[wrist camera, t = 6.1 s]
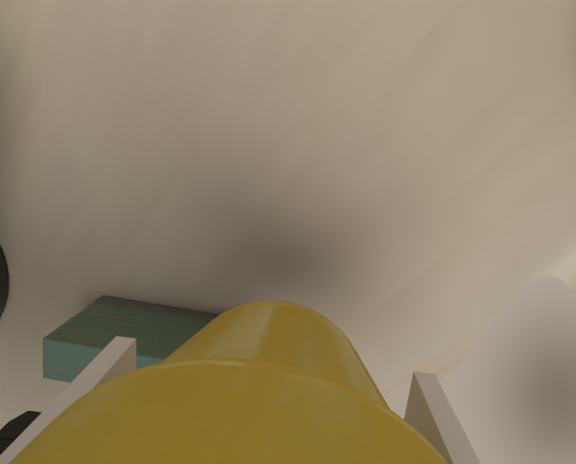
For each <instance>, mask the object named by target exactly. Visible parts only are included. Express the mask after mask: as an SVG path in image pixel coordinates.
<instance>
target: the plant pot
mask: <svg viewBox="0 0 576 464" xmlns="http://www.w3.org/2000/svg"><path fill="white" fill-rule="evenodd" d="M9 464H448V463H447V462H446V460H445V459H444V458H443V457H442V455H441V454H440V453H439V452H438V451H437V450H436V449H435V448H434V446H433V445H432V444H431V443H430V442H429V441H428V440H427V439H426V438H424V437H423V436H422V435H421V434H420V433H419V432H418V431H417V430H416V429H415V428H414V427H412V426H411V425H410V424H409V423H408V422H406V421H405V420H404V419H403V418H401V417H400V416H398V415H397V414H396V413H394V412H393V411H391V410H390V408H389V407H388V405H387V403H386V402H385V400H384V398H383V397H382V395H381V393H380V392H379V390H378V388H377V386H376V385H375V383H374V381H373V380H372V378H371V376H370V375H369V373H368V371H367V369H366V368H365V366H364V364H363V362H362V361H361V359H360V357H359V355H358V354H357V352H356V350H355V349H354V347H353V346H352V344H351V342H350V341H349V339H348V338H347V337H346V336H345V334H344V333H343V332H342V331H341V330H340V329H339V328H338V327H337V326H336V325H335V324H334V323H332V322H331V321H330V320H328V319H327V318H326V317H324V316H323V315H321V314H319V313H317V312H315V311H314V310H311V309H309V308H307V307H304V306H301V305H297V304H294V303H289V302H283V301H255V302H250V303H246V304H243V305H240V306H237V307H234V308H232V309H229V310H227V311H225V312H224V313H222V314H220V315H219V316H218V317H216V318H215V319H214V320H212V321H211V322H210V323H209V324H207V325H206V326H205V327H204V328H203V329H201V330H200V331H199V332H198V333H196V334H195V335H194V336H193V337H192V338H190V339H189V340H188V341H187V342H186V343H184V344H183V345H182V346H181V347H179V348H178V349H177V350H176V351H174V352H173V353H172V354H171V355H169V356H168V357H167V358H166V359H164V360H163V361H162V362H161V363H158V364H153V365H149V366H145V367H142V368H139V369H136V370H133V371H130V372H127V373H125V374H122V375H120V376H118V377H115V378H113V379H111V380H109V381H107V382H105V383H103V384H102V385H100V386H98V387H96V388H94V389H92V390H91V391H89V392H88V393H86V394H85V395H83V396H82V397H80V398H79V399H78V400H76V401H75V402H74V403H72V404H71V405H70V406H68V407H67V408H66V409H65V410H64V411H63V412H62V413H60V414H59V415H58V416H57V417H56V418H55V419H54V420H53V421H52V422H51V423H50V424H49V425H47V426H46V427H45V428H44V429H43V430H42V431H41V432H40V433H39V434H38V435H37V436H36V437H35V438H34V439H33V440H32V441H31V442H30V443H29V444H28V445H27V446H26V447H25V448H24V449H23V450H22V451H21V452H20V453H19V454H18V455H17V456H16V457H15V458H14V459H13V460H12V461H11V462H10V463H9Z"/></svg>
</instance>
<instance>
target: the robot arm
mask: <svg viewBox="0 0 576 464" xmlns="http://www.w3.org/2000/svg"><path fill="white" fill-rule="evenodd" d="M7 288H8V280H7V271H6V266H5V261H4V258H3V255H2V252H1V250H0V314H1V312H2V310H3V308H4V305H5V301H6V296H7ZM133 370H136V338H129V337H120V336H116V337H115V338H114V339H113V340H112V341H111V342H110V343H109V344H108V345H107V346H106V347H105V348H104V349H103V350H102V351H101V352H100V353H99V354H98V355H97V357H96V358H95V359H94V360H93V361H92V362H91V363H90V364H89V365H88V366H87V367H86V368H85V369H84V370H83V371H82V372H81V373H80V374H79V375H78V376H77V377H76V378H75V379H74V380H73V381H72V382H71V383H70V384H69V385H68V386H67V387H66V388H65V389H64V390H63V391H62V392H61V393H60V394H59V396H58V397H57V398H56V399H55V400H54V401H53V402H52V403H51V404H50V405H49V406H48V407H47V408H46V409H45V410H44V411H43V412H35V411H27V412H25V413H23V414H22V415H20V416H18V417H17V418H15V419H13V420H11V421H10V422H8V423H7V424H6V425H5V426H4V427H3V428H2V429H1V430H0V464H9V463H10V462H11V461H12V460H13V459H14V458H15V457H16V456H17V455H18V454H19V453H20V452H21V451H22V450H23V449H24V448H25V447H26V446H27V445H28V444H29V443H30V442H31V441H32V440H33V439H34V438H35V437H36V436H37V435H38V434H39V433H40V432H41V431H42V430H43V429H44V428H45V427H46V426H47V425H49V424H50V423H51V422H52V421H53V420H54V419H55V418H56V417H57V416H58V415H59V414H60V413H62V412H63V411H64V410H65V409H66V408H67V407H68V406H70V405H71V404H72V403H74V402H75V401H76V400H78V399H79V398H80V397H82V396H83V395H85V394H86V393H88V392H89V391H91V390H92V389H94V388H96V387H98V386H100V385H102V384H103V383H105V382H107V381H109V380H111V379H113V378H115V377H118V376H120V375H122V374H125V373H127V372H130V371H133ZM404 420H405V421H406V422H408V423H409V424H410V425H411V426H412V427H414V428H415V429H416V430H417V431H418V432H419V433H420V434H421V435H422V436H423V437H424V438H426V439H427V440H428V441H429V442H430V443H431V444H432V445H433V446H434V448H435V449H436V450H437V451H438V452H439V453H440V454H441V455H442V457H443V458H444V459H445V460H446V462H447V463H448V464H480V461H479V459H478V458H477V456H476V454H475V452H474V450H473V448H472V446H471V444H470V442H469V440H468V438H467V436H466V434H465V432H464V430H463V428H462V426H461V424H460V422H459V420H458V419H457V417H456V415H455V413H454V411H453V409H452V407H451V405H450V403H449V401H448V399H447V397H446V395H445V393H444V391H443V389H442V387H441V385H440V383H439V382H438V380H437V378H436V376H435V374H431V373H422V372H413V377H412V382H411V387H410V392H409V397H408V402H407V407H406V412H405V418H404Z"/></svg>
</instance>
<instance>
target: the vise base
mask: <svg viewBox="0 0 576 464" xmlns="http://www.w3.org/2000/svg"><path fill="white" fill-rule="evenodd" d="M218 316H219V315H218V314H212V313H206V312H200V311H194V310H188V309H182V308H176V307H170V306H164V305H157V304H151V303H145V302H139V301H133V300H127V299H121V298H115V297H109V296H102V297H100V298H99V299H97V300H96V301H95V302H93V303H92V304H90V305H89V306H88V307H86V308H85V309H84V310H82V311H81V312H79V313H78V314H77V315H75V316H74V317H72V318H71V319H70V320H68V321H67V322H65V323H64V324H63V325H61V326H60V327H59V328H57V329H56V330H54V331H53V332H52V333H50V334H49V335H47V336H46V337H45V338H43V378H49V379H54V380H60V381H66V382H72V381H73V380H74V379H75V378H76V377H77V376H78V375H79V374H80V373H81V372H82V371H83V370H84V369H85V368H86V367H87V366H88V365H89V364H90V363H91V362H92V361H93V360H94V359H95V358H96V357H97V355H98V354H99V353H100V352H101V351H102V350H103V349H104V348H105V347H106V346H107V345H108V344H109V343H110V342H111V341H112V340H113V339H114V338H115V337H116V336H120V337H129V338H136V369H139V368H142V367H145V366H149V365H153V364H158V363H161V362H162V361H163V360H164V359H166V358H167V357H168V356H169V355H171V354H172V353H173V352H174V351H176V350H177V349H178V348H179V347H181V346H182V345H183V344H184V343H186V342H187V341H188V340H189V339H190V338H192V337H193V336H194V335H195V334H196V333H198V332H199V331H200V330H201V329H203V328H204V327H205V326H206V325H207V324H209V323H210V322H211V321H212V320H214V319H215V318H216V317H218Z"/></svg>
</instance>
